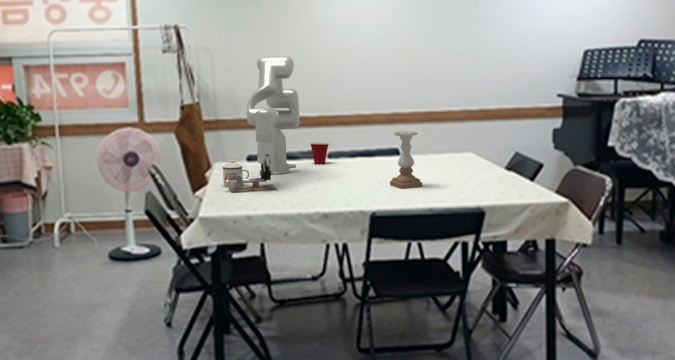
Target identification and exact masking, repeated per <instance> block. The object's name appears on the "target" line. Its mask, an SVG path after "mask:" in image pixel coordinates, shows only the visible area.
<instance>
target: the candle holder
mask: <svg viewBox="0 0 675 360" xmlns="http://www.w3.org/2000/svg"><path fill="white" fill-rule="evenodd" d="M418 134H419V133H418V132H417V131H396V132H394V136H397V137H399V138H400V140H401V142H402V143H401V145H400V146H399V147H400V149H401V155H400V156H399V157H398V161H397V165H398V166H399V167H400V168H399V170H398V172H399V173H400V174H399V175H397V176H396V177H395V176H394V177H392V179H391V180H389V185H390V186H392V187H394V188H397V189H404V190H405V189H411V188H412V189H414V188H422V187H423V182H422V181H421V179H420V178H418V177H416V176H415V175H414V174H412V173H413V172H414V170H413V168H412V167H413V166H414V165H415V159H414V158H413V157H412V155H411V153H410V152H411V150H412V148H413V147H412V145H411V144H412V143H411V140H413V137H414V136H418Z"/></svg>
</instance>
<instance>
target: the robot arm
mask: <svg viewBox="0 0 675 360" xmlns="http://www.w3.org/2000/svg"><path fill="white" fill-rule="evenodd" d="M256 65H257V69H258V71H259V74H258V89H257V90H256V91H254V92H253V93H252V94H251V96H250V97H249V99H248V102H247V104H246V105H247V106H246V107H247V109H246V121H247V124H249V125H250V126H255V142H256V143H257V163H258V164H260V170H264V171H263V176H260V178H263V180H267V181H271V179H272V178H271V177H272V175H282V174H283V175H284V174H289V173H290V171H291V170H290V169H296V168H297V165H296V164H295V163H293V164H290V163H288V162H287V138H286V135H285V134H284V133H283V132H282V130H294V129H298V128H299V126H300V109H299V108H300V103H299V95H298V91H297V90H296V89H294V88H283V87H284V86H283V79H285V80H287V79H289V78H291V76H292V74H293V72H294V68H295V67H294V60H293V59H292V57H290V56H262V57H259V58H258V59H257V61H256ZM264 100H266V101H265V102H266V105H267V107H268V108H267V107H266V108H264V107H263V108H262V107H261V108H260V107H259V108H257V107H256V106H257V105H258V104H259V103H261V102H263V101H264ZM255 107H256V108H255ZM278 109H279V110H278ZM282 109H283V110H282ZM285 109H286V110H285ZM270 170H271V171H270Z"/></svg>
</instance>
